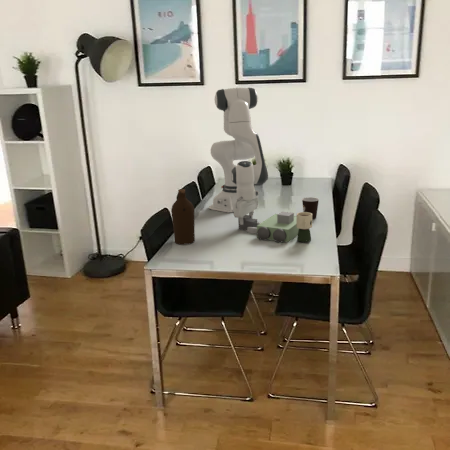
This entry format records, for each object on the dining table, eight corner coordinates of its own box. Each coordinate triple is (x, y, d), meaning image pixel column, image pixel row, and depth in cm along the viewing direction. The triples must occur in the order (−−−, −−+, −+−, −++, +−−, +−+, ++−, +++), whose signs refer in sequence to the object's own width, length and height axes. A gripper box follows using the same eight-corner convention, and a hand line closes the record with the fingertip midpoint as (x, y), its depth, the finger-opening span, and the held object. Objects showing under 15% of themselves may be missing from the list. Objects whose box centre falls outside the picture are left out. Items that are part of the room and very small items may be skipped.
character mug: (313, 244, 231) (314, 217, 227) (297, 245, 231) (298, 217, 227) (310, 237, 241) (310, 210, 237) (294, 237, 241) (295, 211, 237)
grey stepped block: (238, 229, 257) (238, 217, 255) (243, 226, 261) (242, 214, 259) (253, 231, 253) (252, 218, 251) (257, 228, 257) (257, 216, 255)
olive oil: (200, 241, 241) (198, 189, 234) (183, 246, 234) (179, 193, 227) (186, 236, 249) (183, 186, 241) (168, 241, 242) (165, 190, 234)
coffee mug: (318, 220, 267) (318, 201, 264) (301, 219, 269) (301, 201, 266) (318, 214, 278) (319, 196, 275) (302, 213, 280) (302, 195, 277)
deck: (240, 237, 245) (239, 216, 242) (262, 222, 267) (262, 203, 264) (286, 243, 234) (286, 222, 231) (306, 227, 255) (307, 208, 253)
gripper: (241, 200, 242) (242, 228, 246) (260, 190, 259) (260, 217, 263) (230, 199, 245) (230, 226, 249) (249, 189, 262) (249, 215, 266)
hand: (246, 221), depth 256 cm, fingers open, 8 cm apart
